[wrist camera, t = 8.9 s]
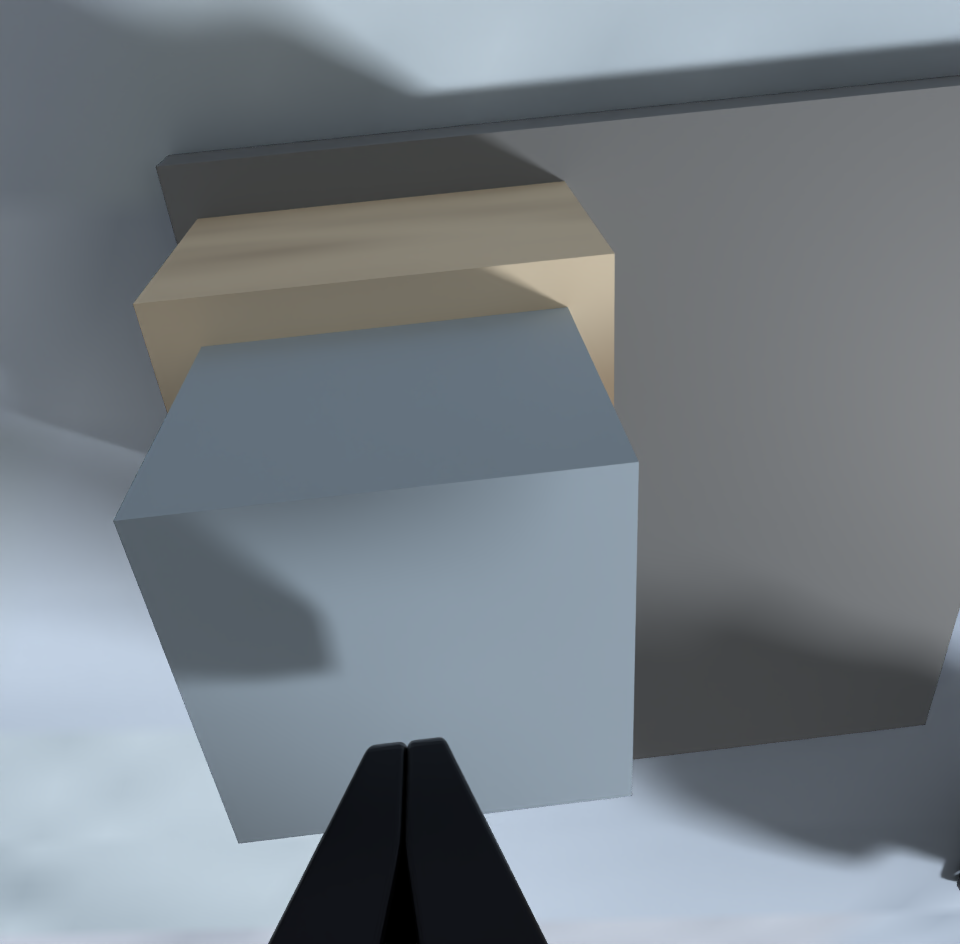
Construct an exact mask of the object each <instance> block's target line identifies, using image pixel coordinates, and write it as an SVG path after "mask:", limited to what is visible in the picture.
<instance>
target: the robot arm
mask: <svg viewBox="0 0 960 944" xmlns="http://www.w3.org/2000/svg"><path fill="white" fill-rule="evenodd" d="M957 887H958V888H959V890H960V876H959V879H958V882H957ZM268 944H548V943H547V941H546V939H545V937H544V935H543V933H542V931H541V929H540V927H539V925H538V923H537V921H536V919H535V917H534V915H533V913H532V911H531V909H530V907H529V905H528V903H527V901H526V899H525V897H524V895H523V893H522V891H521V889H520V887H519V885H518V883H517V881H516V879H515V877H514V875H513V873H512V871H511V869H510V867H509V865H508V863H507V861H506V859H505V857H504V855H503V853H502V851H501V849H500V847H499V845H498V843H497V841H496V839H495V837H494V835H493V833H492V831H491V829H490V827H489V825H488V823H487V821H486V819H485V817H484V815H483V813H482V811H481V809H480V807H479V805H478V803H477V801H476V799H475V797H474V795H473V793H472V791H471V789H470V787H469V785H468V783H467V781H466V779H465V777H464V775H463V773H462V771H461V769H460V767H459V765H458V763H457V761H456V759H455V757H454V755H453V753H452V751H451V749H450V747H449V745H448V743H447V741H446V740H445V739H444V738H442V737H435V738H427V739H418V740H413V741H411V742H410V743H409V744H408V746H407V745H406V744H405V743H403V742H392V743H384V744H375V745H372V746H370V747H369V748H368V749H367V750H366V752H365V753H364V755H363V757H362V759H361V761H360V763H359V765H358V767H357V769H356V771H355V773H354V775H353V777H352V779H351V781H350V783H349V785H348V787H347V789H346V791H345V793H344V795H343V797H342V799H341V801H340V803H339V805H338V807H337V809H336V811H335V813H334V815H333V816H332V818H331V820H330V822H329V824H328V826H327V828H326V830H325V832H324V834H323V836H322V838H321V840H320V842H319V844H318V846H317V848H316V850H315V852H314V854H313V856H312V858H311V860H310V862H309V864H308V866H307V868H306V870H305V872H304V874H303V876H302V878H301V880H300V882H299V884H298V886H297V888H296V890H295V892H294V894H293V896H292V898H291V900H290V901H289V903H288V905H287V907H286V909H285V911H284V913H283V915H282V917H281V919H280V921H279V923H278V925H277V927H276V929H275V931H274V933H273V935H272V937H271V939H270V941H269V943H268Z"/></svg>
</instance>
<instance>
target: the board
mask: <svg viewBox="0 0 960 944" xmlns="http://www.w3.org/2000/svg"><path fill="white" fill-rule="evenodd" d="M156 169H157V173H158V176H159V180H160V183H161V187H162V191H163V194H164V198H165V202H166V205H167V209H168V212H169V216H170V220H171V223H172V227H173V231H174V234H175V238H176V241H177V245H178V244H179V243H180V241H181V240H182V239H183V237H184V236H185V235H186V233H187V232H188V231H189V229H190V228H191V227H192V225H193V224H194V223H195V221H196V220H197V219H201V218H210V217H220V216H230V215H240V214H249V213H259V212H269V211H279V210H288V209H298V208H308V207H317V206H327V205H337V204H347V203H356V202H366V201H376V200H386V199H395V198H405V197H415V196H425V195H434V194H444V193H454V192H464V191H473V190H483V189H493V188H503V187H512V186H522V185H532V184H542V183H551V182H561V181H565V183H566V184H567V186H568V187H569V188H570V190H571V191H572V193H573V194H574V196H575V197H576V198H577V200H578V201H579V203H580V204H581V206H582V207H583V209H584V210H585V211H586V213H587V214H588V216H589V217H590V219H591V220H592V222H593V223H594V224H595V226H596V227H597V229H598V230H599V232H600V233H601V235H602V236H603V237H604V239H605V240H606V242H607V243H608V245H609V246H610V247H611V249H612V250H613V252H614V253H615V298H614V409H615V411H616V413H617V415H618V418H619V420H620V422H621V424H622V426H623V428H624V431H625V433H626V435H627V437H628V439H629V441H630V444H631V446H632V448H633V450H634V452H635V455H636V457H637V459H638V461H639V481H638V529H637V577H636V625H635V673H634V720H633V759H640V758H649V757H657V756H665V755H674V754H682V753H691V752H699V751H708V750H716V749H724V748H733V747H741V746H750V745H758V744H767V743H775V742H783V741H792V740H800V739H809V738H817V737H825V736H834V735H842V734H851V733H859V732H868V731H876V730H884V729H893V728H901V727H910V726H918V725H925V723H926V720H927V717H928V713H929V710H930V706H931V703H932V700H933V696H934V693H935V689H936V686H937V683H938V679H939V676H940V672H941V669H942V666H943V662H944V659H945V655H946V652H947V649H948V645H949V642H950V638H951V635H952V632H953V628H954V625H955V621H956V618H957V615H958V611H959V608H960V76H950V77H940V78H930V79H921V80H911V81H901V82H891V83H881V84H871V85H861V86H851V87H841V88H831V89H821V90H811V91H802V92H792V93H782V94H772V95H762V96H752V97H742V98H732V99H722V100H712V101H702V102H692V103H683V104H673V105H663V106H653V107H643V108H633V109H623V110H613V111H603V112H593V113H583V114H573V115H564V116H554V117H544V118H534V119H524V120H514V121H504V122H494V123H484V124H474V125H464V126H454V127H444V128H435V129H425V130H415V131H405V132H395V133H385V134H375V135H365V136H355V137H345V138H335V139H325V140H316V141H306V142H296V143H286V144H276V145H266V146H256V147H246V148H236V149H226V150H216V151H206V152H197V153H187V154H177V155H169V156H167V157H166V158H165V159H164V160H163V161H162V162H161V163H160V164H158V165H157V166H156Z"/></svg>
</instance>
